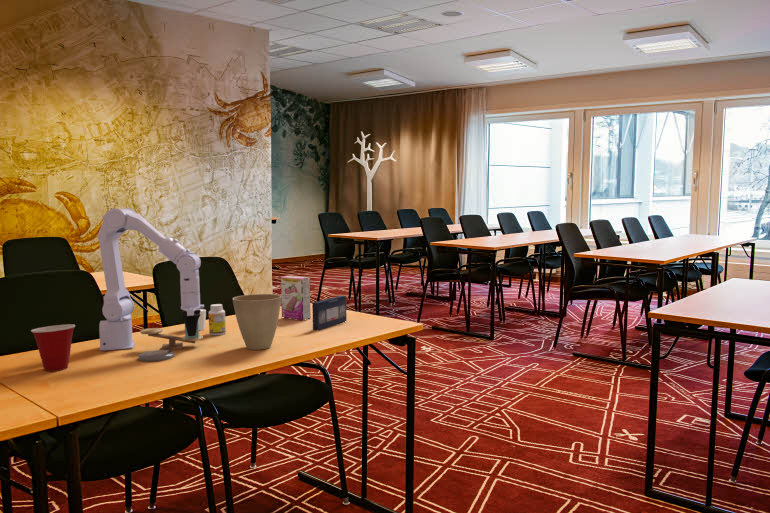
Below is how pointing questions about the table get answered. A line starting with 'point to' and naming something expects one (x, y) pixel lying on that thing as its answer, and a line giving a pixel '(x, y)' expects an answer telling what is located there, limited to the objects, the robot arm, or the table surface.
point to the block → (192, 336)
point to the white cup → (202, 319)
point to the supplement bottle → (217, 320)
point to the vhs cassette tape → (329, 312)
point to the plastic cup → (54, 345)
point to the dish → (156, 355)
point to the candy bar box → (295, 297)
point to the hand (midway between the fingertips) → (192, 334)
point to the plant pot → (257, 318)
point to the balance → (172, 339)
